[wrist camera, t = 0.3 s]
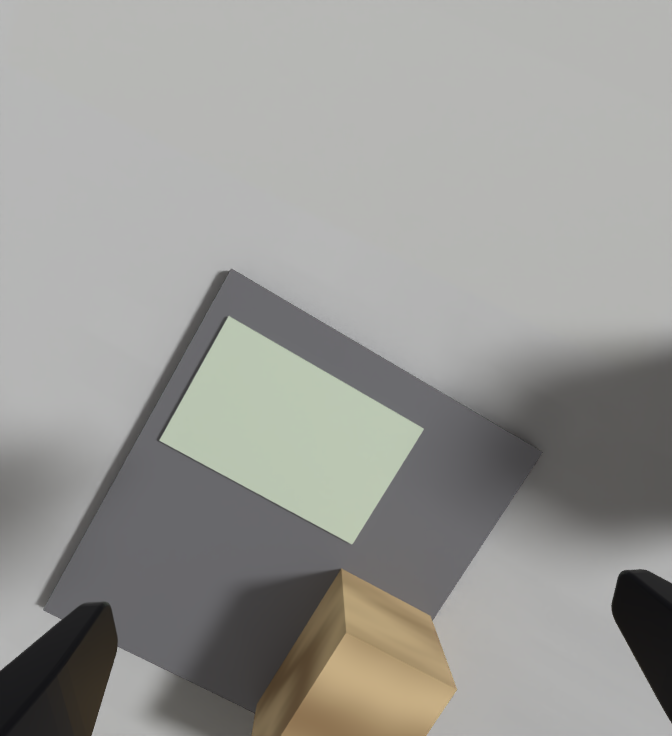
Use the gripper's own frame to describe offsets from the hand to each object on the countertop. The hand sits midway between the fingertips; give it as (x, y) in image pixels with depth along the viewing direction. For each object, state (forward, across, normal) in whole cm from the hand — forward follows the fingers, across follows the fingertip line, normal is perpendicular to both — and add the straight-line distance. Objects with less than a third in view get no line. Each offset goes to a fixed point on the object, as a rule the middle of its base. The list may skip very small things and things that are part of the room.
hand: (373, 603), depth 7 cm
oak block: (+11, 0, +16) cm, 19 cm away
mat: (+13, +2, +8) cm, 16 cm away
